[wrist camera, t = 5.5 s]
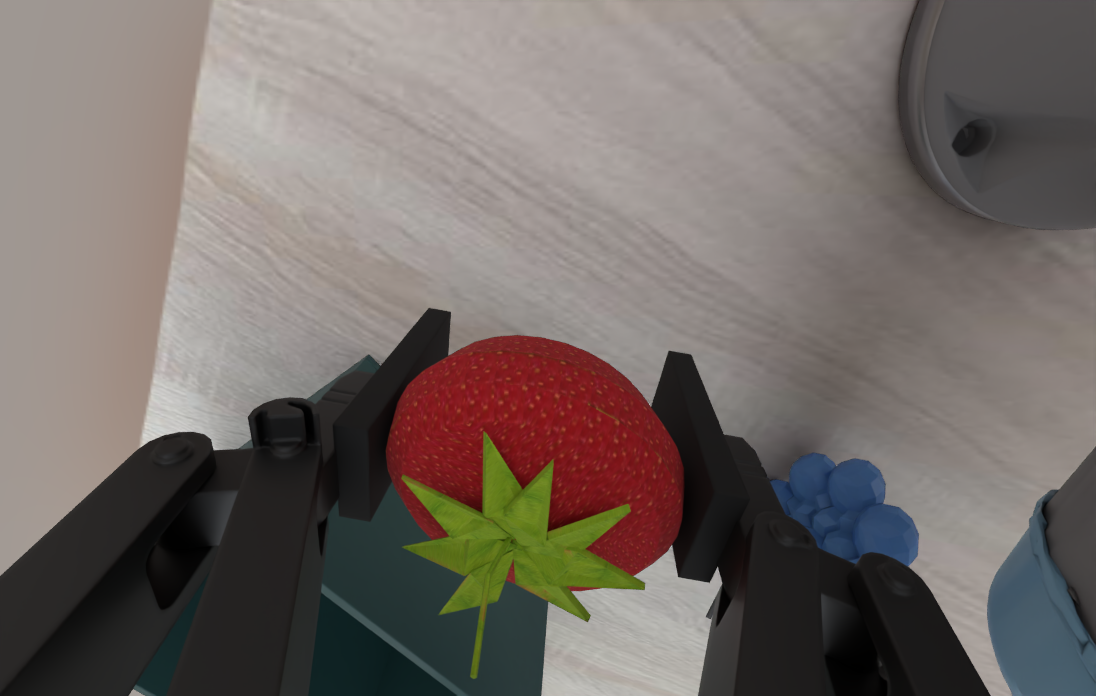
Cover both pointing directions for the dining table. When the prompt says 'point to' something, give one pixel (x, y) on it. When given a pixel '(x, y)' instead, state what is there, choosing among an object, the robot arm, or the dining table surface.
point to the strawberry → (534, 473)
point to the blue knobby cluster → (846, 509)
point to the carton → (396, 617)
